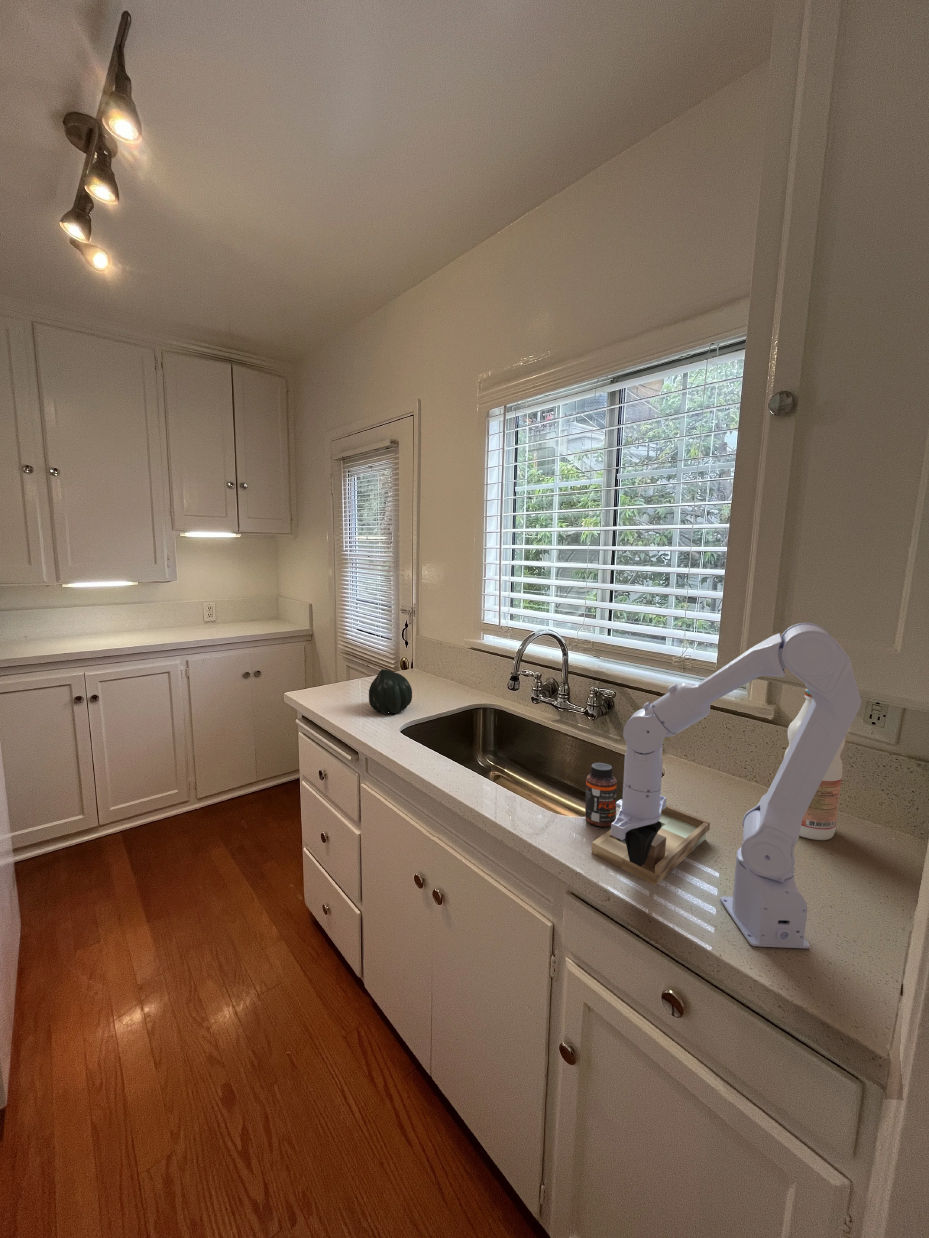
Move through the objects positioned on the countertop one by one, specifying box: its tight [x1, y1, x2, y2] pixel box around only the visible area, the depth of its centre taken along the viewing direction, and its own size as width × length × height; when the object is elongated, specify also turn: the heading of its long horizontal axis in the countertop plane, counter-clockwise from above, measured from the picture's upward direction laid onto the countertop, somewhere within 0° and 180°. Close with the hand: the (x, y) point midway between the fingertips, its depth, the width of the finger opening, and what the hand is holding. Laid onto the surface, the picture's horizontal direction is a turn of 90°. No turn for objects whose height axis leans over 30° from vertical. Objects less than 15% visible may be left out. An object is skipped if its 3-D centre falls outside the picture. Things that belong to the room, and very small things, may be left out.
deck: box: [591, 804, 711, 887], centre depth 91 cm, size 20×13×4 cm, turn 133°
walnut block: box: [644, 833, 666, 869], centre depth 84 cm, size 4×4×4 cm
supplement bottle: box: [584, 762, 618, 828], centre depth 99 cm, size 6×6×11 cm
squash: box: [368, 668, 413, 714], centre depth 166 cm, size 14×15×15 cm
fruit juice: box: [783, 688, 846, 841], centre depth 96 cm, size 9×9×28 cm
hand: (637, 862), depth 82 cm, fingers closed
